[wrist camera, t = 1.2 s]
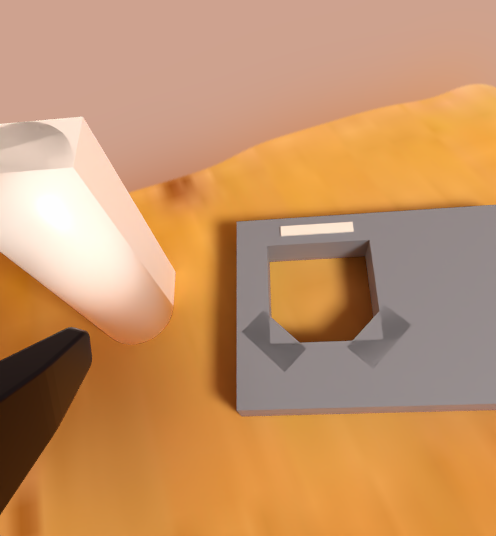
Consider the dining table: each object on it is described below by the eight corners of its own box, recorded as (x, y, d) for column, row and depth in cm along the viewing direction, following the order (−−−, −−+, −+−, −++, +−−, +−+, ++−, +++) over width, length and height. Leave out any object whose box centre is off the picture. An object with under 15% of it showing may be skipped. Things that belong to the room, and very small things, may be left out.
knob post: (170, 342, 26) (62, 224, 14) (95, 345, 26) (-71, 233, 15) (175, 270, 28) (83, 114, 16) (105, 274, 28) (-35, 124, 17)
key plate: (558, 408, 22) (582, 401, 20) (241, 416, 24) (236, 410, 22) (504, 222, 27) (519, 202, 25) (241, 238, 28) (236, 220, 26)
